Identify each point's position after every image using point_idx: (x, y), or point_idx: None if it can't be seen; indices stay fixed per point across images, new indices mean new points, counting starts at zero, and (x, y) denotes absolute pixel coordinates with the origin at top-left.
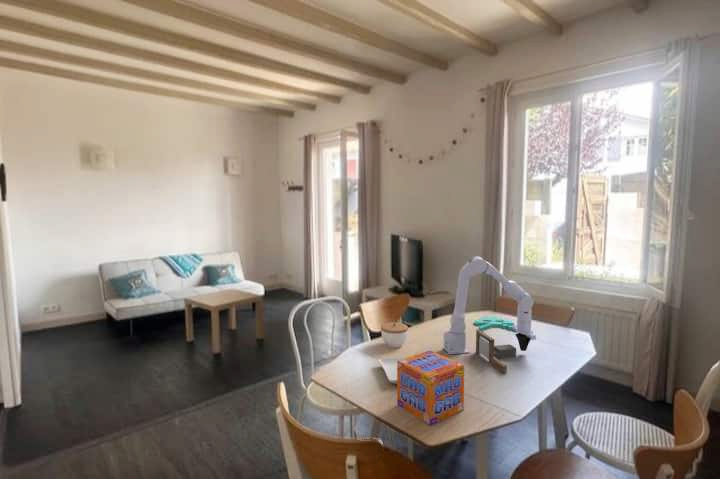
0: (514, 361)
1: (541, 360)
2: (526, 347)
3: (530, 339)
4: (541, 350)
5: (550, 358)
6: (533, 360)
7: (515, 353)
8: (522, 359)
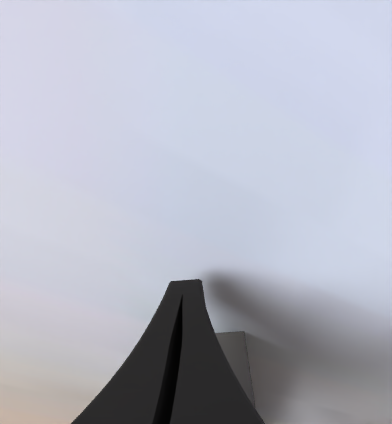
0: (309, 360)
1: (365, 189)
2: (205, 308)
3: (254, 413)
4: (75, 22)
5: (358, 52)
6: (338, 253)
7: (248, 363)
8: (293, 312)
